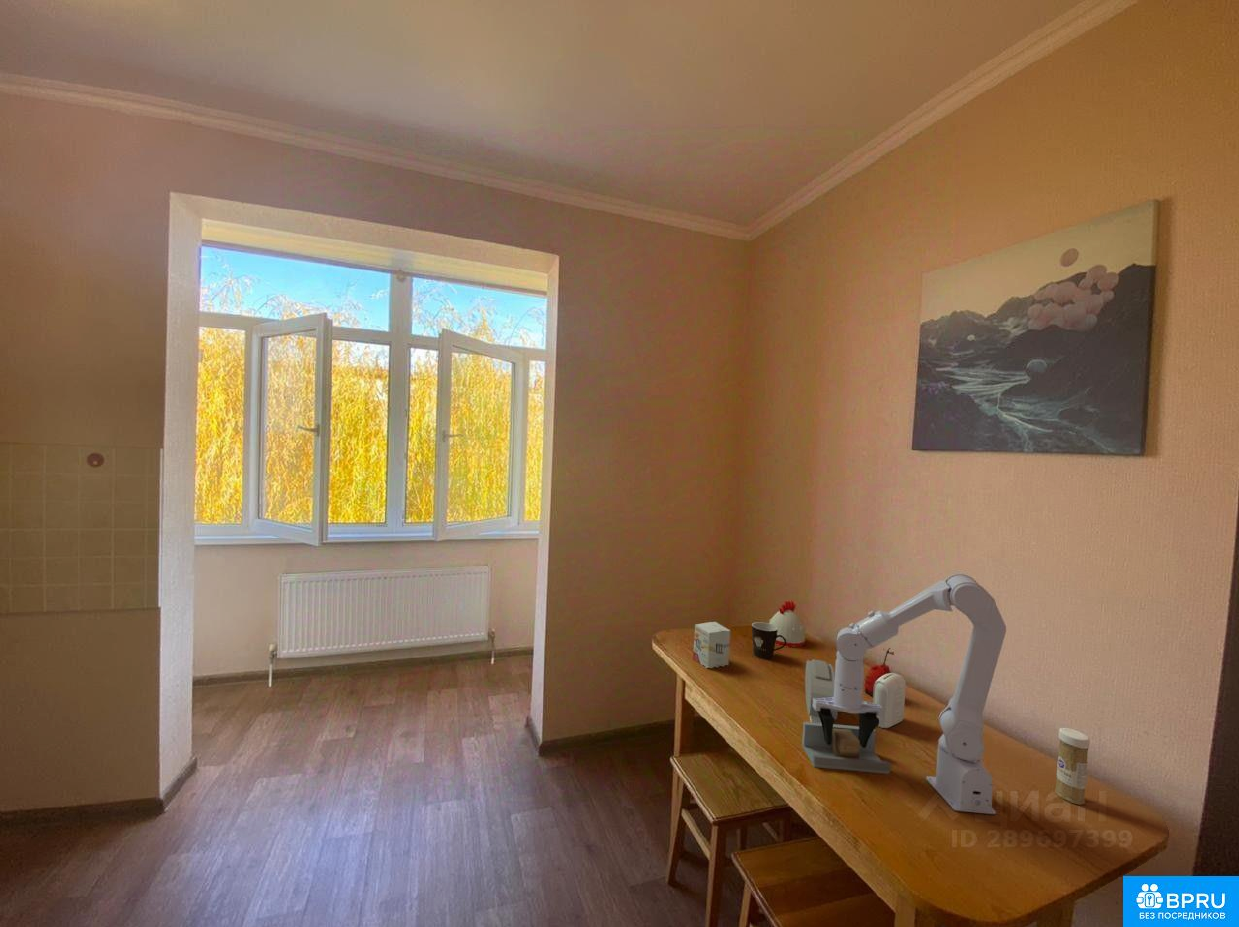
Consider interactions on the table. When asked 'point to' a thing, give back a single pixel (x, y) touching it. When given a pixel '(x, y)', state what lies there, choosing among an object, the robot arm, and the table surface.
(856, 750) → the cabinet block
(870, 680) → the red fruit
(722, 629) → the ink box
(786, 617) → the white and red dome
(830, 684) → the alarm clock
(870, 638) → the robot arm
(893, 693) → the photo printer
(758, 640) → the coffee mug
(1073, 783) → the sprinkles bottle
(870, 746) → the wall shelf
